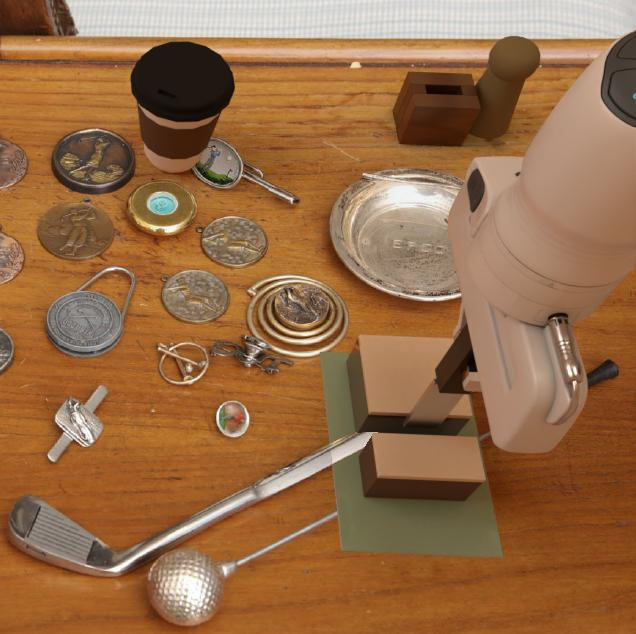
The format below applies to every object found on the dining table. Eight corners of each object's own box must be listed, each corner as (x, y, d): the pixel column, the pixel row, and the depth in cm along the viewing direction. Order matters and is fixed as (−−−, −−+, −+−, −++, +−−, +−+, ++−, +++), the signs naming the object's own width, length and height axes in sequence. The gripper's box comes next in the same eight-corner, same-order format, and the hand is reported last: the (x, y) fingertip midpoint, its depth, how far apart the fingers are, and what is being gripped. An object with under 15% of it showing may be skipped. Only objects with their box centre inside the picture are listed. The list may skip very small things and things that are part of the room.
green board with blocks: (460, 361, 90) (482, 330, 85) (501, 561, 80) (529, 538, 75) (317, 355, 90) (331, 324, 86) (339, 554, 80) (356, 531, 75)
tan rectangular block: (457, 460, 84) (477, 436, 79) (465, 501, 82) (486, 480, 77) (358, 455, 84) (373, 432, 80) (363, 497, 82) (379, 475, 77)
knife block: (453, 111, 109) (471, 73, 104) (461, 146, 106) (481, 108, 101) (392, 109, 109) (407, 71, 104) (399, 144, 106) (415, 106, 101)
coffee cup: (192, 204, 101) (206, 126, 90) (107, 164, 104) (111, 84, 93) (237, 142, 106) (254, 61, 95) (154, 105, 109) (163, 23, 98)
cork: (511, 141, 106) (552, 68, 97) (457, 134, 107) (494, 61, 97) (506, 104, 109) (546, 30, 100) (454, 98, 110) (489, 24, 100)
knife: (435, 414, 81) (508, 317, 67) (439, 437, 80) (514, 343, 66) (401, 413, 81) (467, 316, 67) (404, 436, 80) (472, 341, 66)
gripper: (639, 402, 54) (538, 491, 65) (557, 143, 65) (483, 259, 76) (531, 397, 54) (449, 487, 65) (468, 140, 65) (407, 256, 76)
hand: (467, 362), depth 71 cm, fingers closed on knife, 2 cm apart
